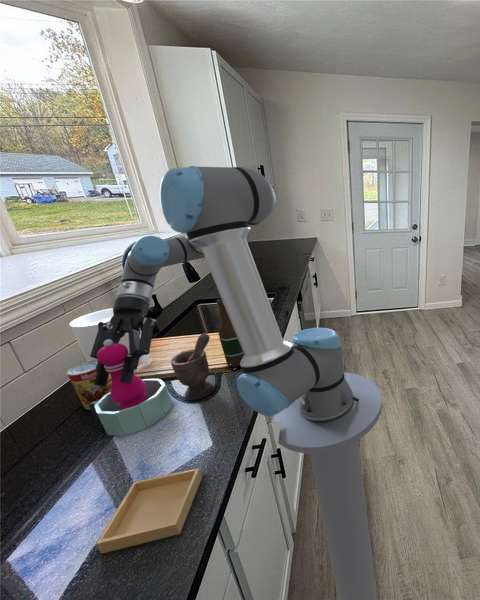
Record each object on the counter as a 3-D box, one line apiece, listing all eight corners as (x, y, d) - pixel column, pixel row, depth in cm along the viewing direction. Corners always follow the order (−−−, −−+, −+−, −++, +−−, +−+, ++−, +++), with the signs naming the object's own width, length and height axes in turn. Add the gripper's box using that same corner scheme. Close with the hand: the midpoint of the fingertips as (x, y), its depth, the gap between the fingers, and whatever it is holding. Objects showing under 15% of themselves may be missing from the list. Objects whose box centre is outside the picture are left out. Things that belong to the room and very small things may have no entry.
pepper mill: (110, 415, 82) (79, 348, 75) (128, 397, 89) (101, 335, 81) (141, 411, 83) (112, 345, 76) (156, 394, 90) (131, 331, 82)
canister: (154, 351, 122) (136, 303, 114) (148, 370, 109) (128, 318, 102) (100, 364, 114) (78, 314, 107) (88, 386, 101) (61, 331, 94)
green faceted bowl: (180, 393, 96) (173, 374, 93) (156, 429, 82) (147, 407, 79) (115, 404, 92) (106, 384, 90) (80, 443, 78) (68, 421, 76)
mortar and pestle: (229, 379, 101) (213, 324, 94) (224, 395, 94) (206, 336, 86) (188, 388, 98) (168, 331, 91) (180, 405, 90) (157, 345, 83)
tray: (202, 476, 68) (199, 467, 67) (179, 534, 57) (175, 524, 56) (138, 490, 65) (133, 481, 64) (101, 553, 54) (95, 544, 53)
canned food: (105, 408, 91) (88, 373, 86) (76, 410, 90) (58, 375, 86) (125, 391, 98) (111, 358, 94) (99, 393, 98) (83, 360, 93)
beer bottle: (254, 360, 112) (239, 298, 103) (231, 370, 106) (213, 305, 98) (245, 353, 117) (230, 293, 108) (223, 362, 111) (205, 299, 103)
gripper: (86, 298, 84) (59, 385, 75) (159, 292, 86) (141, 377, 76) (109, 308, 91) (86, 390, 82) (175, 303, 93) (161, 382, 83)
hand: (112, 383), depth 79 cm, fingers closed on pepper mill, 5 cm apart
